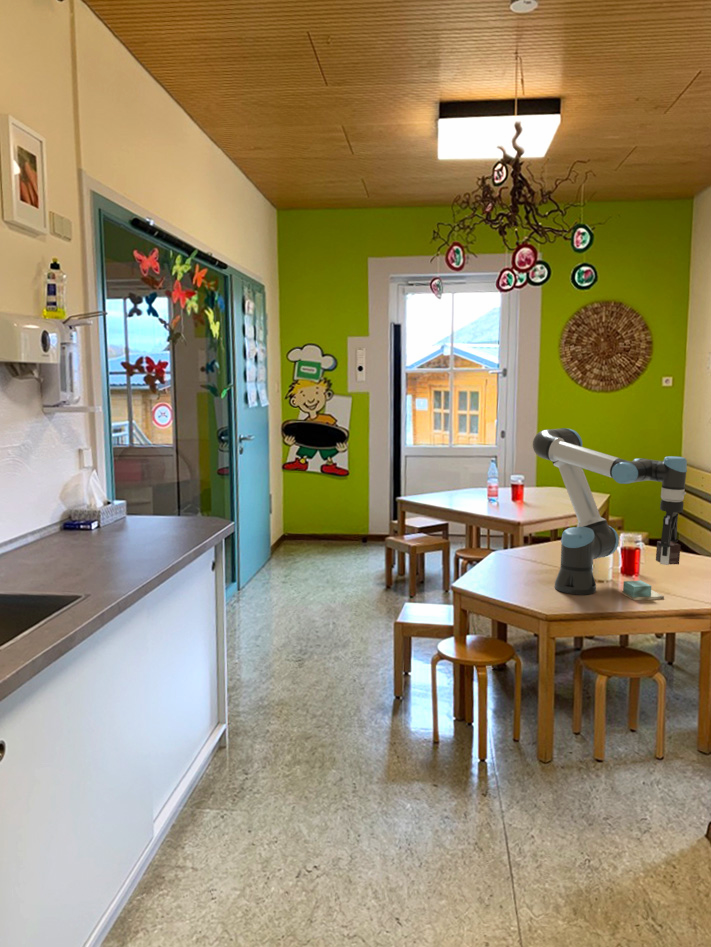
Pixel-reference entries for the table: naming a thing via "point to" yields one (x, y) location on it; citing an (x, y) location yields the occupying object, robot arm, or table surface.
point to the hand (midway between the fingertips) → (666, 561)
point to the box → (674, 552)
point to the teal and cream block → (639, 591)
